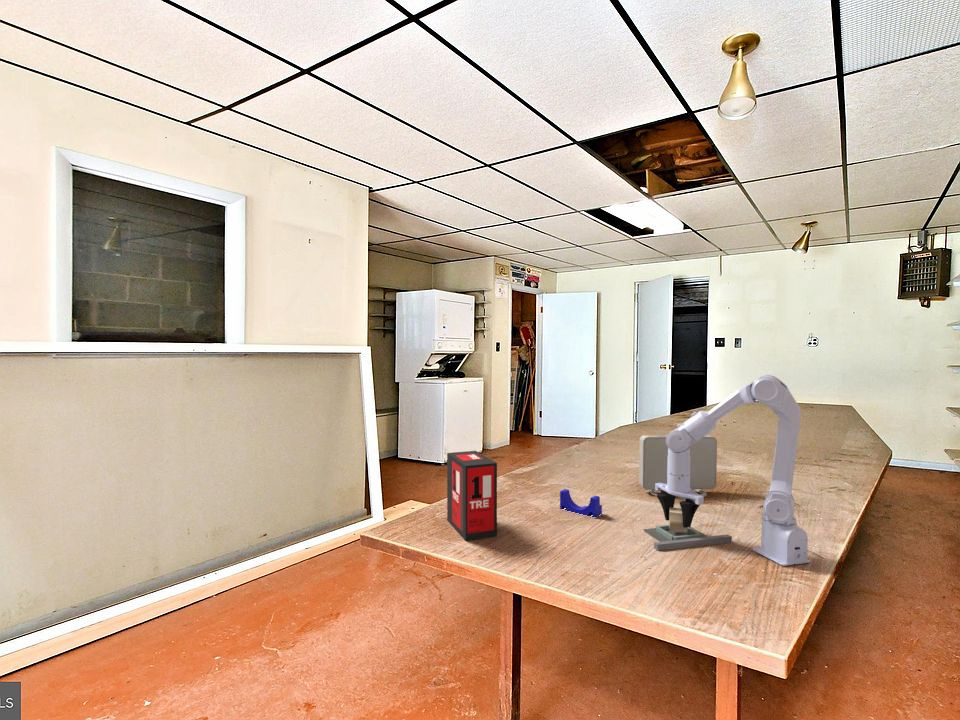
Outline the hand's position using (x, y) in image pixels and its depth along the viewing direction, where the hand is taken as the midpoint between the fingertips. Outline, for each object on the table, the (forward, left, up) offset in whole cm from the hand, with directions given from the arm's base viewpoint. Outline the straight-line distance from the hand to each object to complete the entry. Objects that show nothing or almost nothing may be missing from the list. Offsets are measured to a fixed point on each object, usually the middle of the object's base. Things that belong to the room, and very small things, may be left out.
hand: (677, 523), depth 136 cm
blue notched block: (+24, +17, -4) cm, 30 cm away
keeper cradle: (0, 0, -3) cm, 3 cm away
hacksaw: (+11, -44, -4) cm, 46 cm away
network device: (+34, -24, -4) cm, 42 cm away
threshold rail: (-6, 0, -3) cm, 7 cm away
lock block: (0, 0, -1) cm, 1 cm away
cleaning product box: (+19, +53, -4) cm, 56 cm away
